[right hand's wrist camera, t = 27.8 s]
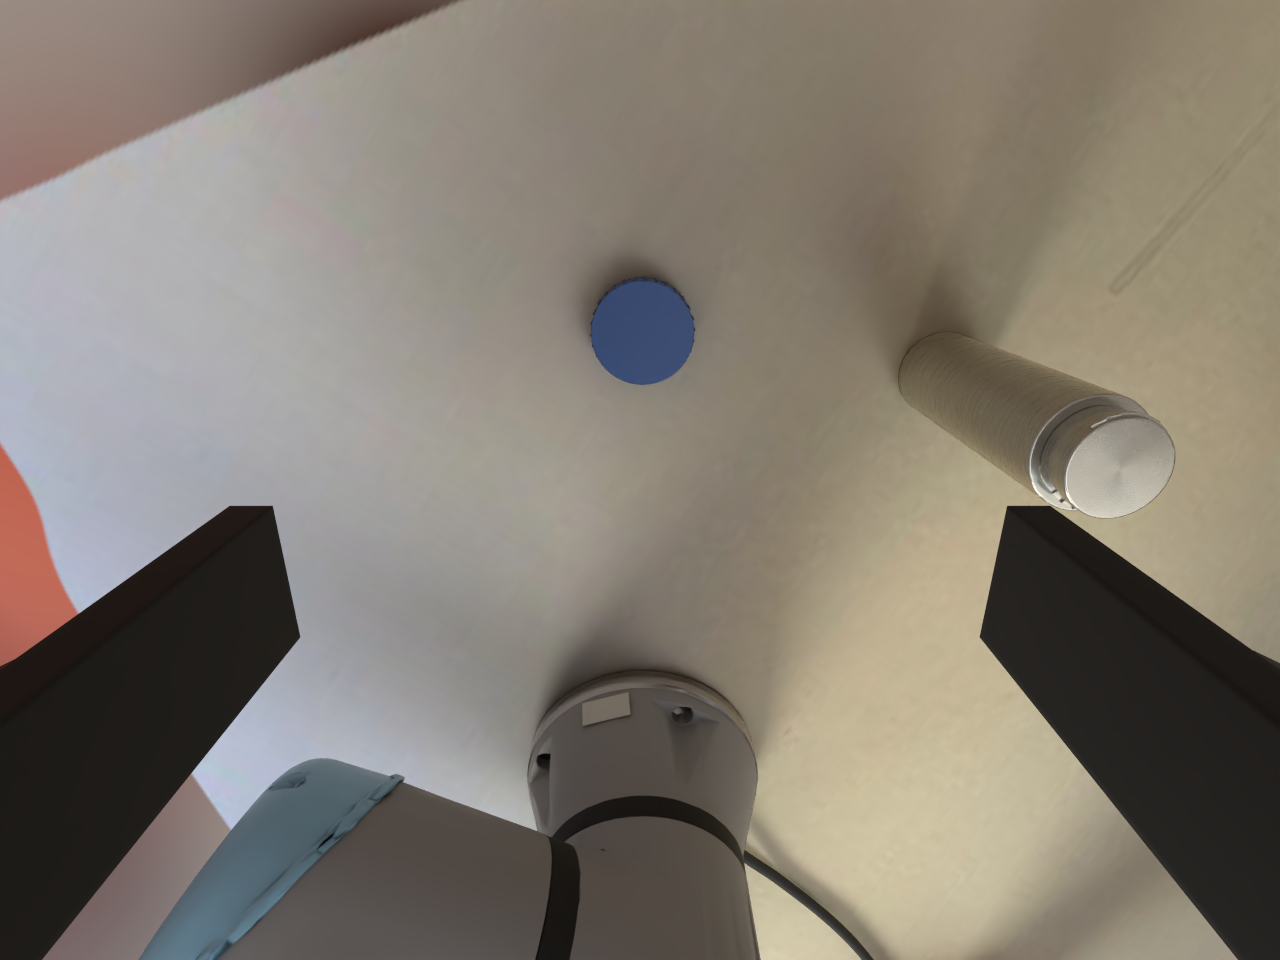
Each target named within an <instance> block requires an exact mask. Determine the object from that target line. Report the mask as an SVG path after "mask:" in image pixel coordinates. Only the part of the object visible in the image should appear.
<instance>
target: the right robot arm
mask: <svg viewBox="0 0 1280 960" xmlns="http://www.w3.org/2000/svg"><path fill="white" fill-rule="evenodd" d="M299 638H300V634H299V629H298V624H297V619H296V615H295V610H294V605H293V600H292V596H291V591H290V586H289V581H288V577H287V572H286V567H285V562H284V558H283V553H282V548H281V543H280V539H279V534H278V529H277V524H276V519H275V515H274V510H273V506H229V507H228V508H226V509H225V510H223V511H222V512H221V513H219V514H218V515H216V516H215V517H214V518H212V519H211V520H209V521H208V522H207V523H205V524H204V525H202V526H201V527H200V528H198V529H197V530H195V531H194V532H193V533H191V534H190V535H188V536H187V537H186V538H184V539H183V540H181V541H180V542H179V543H177V544H176V545H174V546H173V547H172V548H170V549H169V550H167V551H166V552H165V553H163V554H162V555H160V556H159V557H158V558H156V559H155V560H153V561H152V562H151V563H149V564H148V565H146V566H145V567H144V568H142V569H141V570H139V571H138V572H137V573H135V574H134V575H132V576H131V577H130V578H128V579H127V580H126V581H124V582H123V583H121V584H120V585H119V586H117V587H116V588H114V589H113V590H112V591H110V592H109V593H107V594H106V595H105V596H103V597H102V598H100V599H99V600H98V601H96V602H95V603H93V604H92V605H91V606H89V607H88V608H86V609H85V610H84V611H82V612H81V613H79V614H78V615H77V616H75V617H74V618H72V619H71V620H70V621H68V622H67V623H65V624H64V625H63V626H61V627H60V628H58V629H57V630H56V631H54V632H53V633H51V634H50V635H49V636H47V637H46V638H44V639H43V640H42V641H40V642H39V643H37V644H36V645H35V646H33V647H32V648H30V649H29V650H28V651H26V652H25V653H23V654H22V655H21V656H19V657H18V658H16V659H14V660H12V661H10V662H8V663H6V664H4V665H2V666H0V960H42V959H43V958H44V956H45V955H46V954H47V953H48V951H49V950H50V949H51V948H52V946H53V945H54V944H55V943H56V941H57V940H58V939H59V938H60V936H61V935H62V934H63V933H64V931H65V930H66V929H67V928H68V926H69V925H70V924H71V923H72V921H73V920H74V919H75V918H76V916H77V915H78V914H79V913H80V911H81V910H82V909H83V908H84V906H85V905H86V904H87V903H88V901H89V900H90V899H91V898H92V896H93V895H94V894H95V893H96V891H97V890H98V889H99V888H100V886H101V885H102V884H103V883H104V881H105V880H106V879H107V878H108V876H109V875H110V874H111V873H112V871H113V870H114V869H115V868H116V866H117V865H118V864H119V863H120V861H121V860H122V859H123V858H124V856H125V855H126V854H127V853H128V852H129V850H130V849H131V848H132V846H133V845H134V844H135V843H136V842H137V840H138V839H139V838H140V837H141V835H142V834H143V833H144V831H145V830H146V829H147V828H148V826H149V825H150V824H151V823H152V822H153V820H154V819H155V818H156V817H157V815H158V814H159V813H160V812H161V810H162V809H163V808H164V807H165V805H166V804H167V803H168V802H169V800H170V799H171V798H172V797H173V795H174V794H175V793H176V791H177V790H178V789H179V788H180V787H181V785H182V784H183V783H184V782H185V780H186V779H187V778H188V777H189V775H190V774H191V773H192V772H193V770H194V769H195V768H196V767H197V765H198V764H199V763H200V762H201V760H202V759H203V758H204V757H205V755H206V754H207V753H208V752H209V750H210V749H211V748H212V747H213V745H214V744H215V743H216V742H217V740H218V739H219V738H220V737H221V735H222V734H223V733H224V732H225V730H226V729H227V728H228V727H229V725H230V724H231V723H232V722H233V720H234V719H235V718H236V717H237V715H238V714H239V713H240V712H241V710H242V709H243V708H244V707H245V705H246V704H247V703H248V702H249V700H250V699H251V698H252V697H253V695H254V694H255V693H256V692H257V690H258V689H259V688H260V687H261V685H262V684H263V683H264V682H265V680H266V679H267V678H268V677H269V675H270V674H271V673H272V672H273V670H274V669H275V668H276V667H277V665H278V664H279V663H280V662H281V660H282V659H283V658H284V657H285V656H286V654H287V653H288V652H289V651H290V649H291V648H292V647H293V646H294V644H295V643H296V642H297V641H298V639H299ZM980 638H981V639H982V641H983V642H984V643H985V644H986V646H987V647H988V648H989V649H990V651H991V652H992V653H993V654H994V656H995V657H996V658H997V659H998V660H999V662H1000V663H1001V664H1002V665H1003V667H1004V668H1005V669H1006V670H1007V672H1008V673H1009V674H1010V675H1011V677H1012V678H1013V679H1014V680H1015V682H1016V683H1017V684H1018V685H1019V687H1020V688H1021V689H1022V690H1023V692H1024V693H1025V694H1026V695H1027V697H1028V698H1029V699H1030V700H1031V702H1032V703H1033V704H1034V705H1035V707H1036V708H1037V709H1038V710H1039V712H1040V713H1041V714H1042V715H1043V717H1044V718H1045V719H1046V720H1047V722H1048V723H1049V724H1050V725H1051V727H1052V728H1053V729H1054V730H1055V732H1056V733H1057V734H1058V735H1059V737H1060V738H1061V739H1062V740H1063V742H1064V743H1065V744H1066V745H1067V747H1068V748H1069V749H1070V750H1071V752H1072V753H1073V754H1074V755H1075V757H1076V758H1077V759H1078V760H1079V762H1080V763H1081V764H1082V765H1083V767H1084V768H1085V769H1086V770H1087V772H1088V773H1089V774H1090V775H1091V777H1092V778H1093V779H1094V780H1095V782H1096V783H1097V784H1098V785H1099V787H1100V788H1101V789H1102V790H1103V792H1104V793H1105V794H1106V795H1107V797H1108V798H1109V799H1110V800H1111V802H1112V803H1113V804H1114V805H1115V807H1116V808H1117V809H1118V810H1119V812H1120V813H1121V814H1122V815H1123V817H1124V818H1125V819H1126V820H1127V822H1128V823H1129V824H1130V825H1131V827H1132V828H1133V829H1134V830H1135V832H1136V833H1137V834H1138V835H1139V837H1140V838H1141V839H1142V840H1143V842H1144V843H1145V844H1146V845H1147V847H1148V848H1149V849H1150V850H1151V852H1152V853H1153V854H1154V855H1155V857H1156V858H1157V859H1158V860H1159V862H1160V863H1161V864H1162V865H1163V867H1164V868H1165V869H1166V870H1167V871H1168V873H1169V874H1170V875H1171V876H1172V878H1173V879H1174V880H1175V881H1176V883H1177V884H1178V885H1179V886H1180V888H1181V889H1182V890H1183V891H1184V893H1185V894H1186V895H1187V896H1188V898H1189V899H1190V900H1191V901H1192V903H1193V904H1194V905H1195V906H1196V908H1197V909H1198V910H1199V911H1200V913H1201V914H1202V915H1203V916H1204V918H1205V919H1206V920H1207V921H1208V923H1209V924H1210V925H1211V926H1212V928H1213V929H1214V930H1215V931H1216V933H1217V934H1218V935H1219V936H1220V938H1221V939H1222V940H1223V941H1224V943H1225V944H1226V945H1227V946H1228V948H1229V949H1230V950H1231V951H1232V953H1233V954H1234V955H1235V956H1236V958H1237V959H1238V960H1280V663H1278V662H1276V661H1274V660H1272V659H1270V658H1268V657H1266V656H1264V655H1261V654H1259V653H1257V652H1255V651H1252V650H1251V649H1250V648H1248V647H1247V646H1245V645H1244V644H1243V643H1241V642H1240V641H1238V640H1237V639H1236V638H1234V637H1233V636H1231V635H1230V634H1229V633H1227V632H1226V631H1224V630H1223V629H1222V628H1220V627H1219V626H1217V625H1216V624H1215V623H1213V622H1212V621H1210V620H1209V619H1208V618H1206V617H1205V616H1203V615H1202V614H1201V613H1199V612H1198V611H1196V610H1195V609H1194V608H1192V607H1191V606H1189V605H1188V604H1187V603H1185V602H1184V601H1182V600H1181V599H1180V598H1178V597H1177V596H1175V595H1174V594H1173V593H1171V592H1170V591H1168V590H1167V589H1166V588H1164V587H1163V586H1161V585H1160V584H1159V583H1157V582H1156V581H1154V580H1153V579H1152V578H1150V577H1149V576H1148V575H1146V574H1145V573H1143V572H1142V571H1141V570H1139V569H1138V568H1136V567H1135V566H1134V565H1132V564H1131V563H1129V562H1128V561H1127V560H1125V559H1124V558H1122V557H1121V556H1120V555H1118V554H1117V553H1115V552H1114V551H1113V550H1111V549H1110V548H1108V547H1107V546H1106V545H1104V544H1103V543H1101V542H1100V541H1099V540H1097V539H1096V538H1094V537H1093V536H1092V535H1090V534H1089V533H1087V532H1086V531H1085V530H1083V529H1082V528H1080V527H1079V526H1078V525H1076V524H1075V523H1073V522H1072V521H1071V520H1069V519H1068V518H1066V517H1065V516H1064V515H1062V514H1061V513H1059V512H1058V511H1057V510H1055V509H1054V508H1052V507H1051V506H1007V510H1006V515H1005V519H1004V524H1003V529H1002V534H1001V539H1000V543H999V548H998V553H997V558H996V562H995V567H994V572H993V577H992V581H991V586H990V591H989V596H988V600H987V605H986V610H985V615H984V619H983V624H982V629H981V634H980ZM757 773H758V772H757V764H756V759H755V754H754V749H753V745H752V741H751V737H750V734H749V732H748V729H747V727H746V725H745V723H744V721H743V720H742V718H741V717H740V715H739V714H738V712H737V711H736V710H735V709H734V708H733V707H732V705H731V704H729V703H728V702H727V701H726V700H725V699H724V698H723V697H721V696H720V695H719V694H718V693H716V692H715V691H713V690H711V689H710V688H708V687H707V686H705V685H703V684H700V683H698V682H696V681H694V680H691V679H689V678H686V677H682V676H679V675H675V674H670V673H665V672H657V671H628V672H620V673H615V674H610V675H606V676H603V677H600V678H597V679H594V680H592V681H589V682H587V683H585V684H583V685H581V686H579V687H577V688H575V689H574V690H572V691H571V692H569V693H568V694H566V695H565V696H564V697H562V698H561V699H560V700H559V701H558V702H557V703H556V704H555V705H554V706H553V707H552V708H551V709H550V710H549V711H548V713H547V714H546V715H545V717H544V718H543V720H542V721H541V723H540V725H539V727H538V729H537V732H536V734H535V737H534V741H533V745H532V750H531V755H530V760H529V765H528V787H529V794H530V799H531V804H532V808H533V813H534V818H535V822H536V827H537V831H535V830H532V829H529V828H527V827H524V826H521V825H518V824H516V823H513V822H510V821H507V820H504V819H502V818H499V817H496V816H493V815H491V814H488V813H485V812H482V811H479V810H477V809H474V808H471V807H468V806H466V805H463V804H460V803H457V802H454V801H452V800H449V799H446V798H443V797H441V796H438V795H435V794H432V793H430V792H427V791H425V790H422V789H419V788H417V787H414V786H412V785H409V784H406V783H404V782H403V781H404V778H405V777H403V776H401V775H398V774H394V775H392V776H387V775H383V774H380V773H377V772H374V771H370V770H367V769H364V768H360V767H357V766H354V765H351V764H347V763H344V762H341V761H337V760H333V759H323V758H320V759H312V760H308V761H305V762H303V763H300V764H298V765H296V766H294V767H293V768H291V769H290V770H288V771H287V772H285V773H284V774H283V775H282V776H280V777H279V778H278V779H277V780H276V781H275V782H274V783H272V784H271V785H270V786H269V787H268V789H267V790H266V791H265V792H264V793H263V794H262V795H261V796H260V797H259V798H258V799H257V800H256V802H255V803H254V804H253V805H252V806H251V807H250V809H249V810H248V811H247V812H246V813H245V814H244V816H243V817H242V818H241V819H240V820H239V822H238V823H237V824H236V825H235V827H234V828H233V829H232V830H231V831H230V833H229V834H228V835H227V837H226V838H225V839H224V840H223V842H222V843H221V844H220V846H219V847H218V848H217V849H216V851H215V852H214V853H213V855H212V856H211V857H210V859H209V860H208V861H207V862H206V864H205V865H204V866H203V868H202V869H201V870H200V872H199V873H198V875H197V876H196V877H195V878H194V880H193V881H192V883H191V884H190V885H189V887H188V888H187V890H186V891H185V892H184V894H183V895H182V896H181V898H180V899H179V901H178V902H177V903H176V905H175V906H174V908H173V909H172V911H171V912H170V913H169V915H168V916H167V918H166V919H165V921H164V922H163V923H162V925H161V926H160V928H159V929H158V931H157V932H156V934H155V935H154V937H153V938H152V940H151V941H150V943H149V944H148V946H147V947H146V949H145V950H144V952H143V953H142V955H141V957H140V958H139V960H760V954H759V948H758V942H757V937H756V931H755V925H754V919H753V913H752V908H751V902H750V895H749V889H748V883H747V878H746V872H745V866H744V863H745V864H747V865H748V866H750V867H751V868H753V869H754V870H756V871H757V872H759V873H761V874H762V875H764V876H765V877H767V878H768V879H770V880H771V881H773V882H774V883H775V884H777V885H778V886H779V887H781V888H782V889H784V890H785V891H786V892H788V893H789V894H790V895H792V896H793V897H794V898H795V899H797V900H798V901H799V902H801V903H802V904H803V905H805V906H806V907H807V908H808V909H810V910H811V911H812V912H813V913H815V914H816V915H817V916H818V917H819V918H821V919H822V920H823V921H824V922H825V923H826V924H828V925H829V926H830V927H831V928H832V929H833V930H834V931H835V932H836V933H837V934H838V935H839V936H840V937H841V938H842V939H843V940H844V941H845V942H846V943H847V944H848V945H849V946H850V947H851V948H852V949H853V950H854V951H855V952H856V953H857V955H858V956H859V957H860V958H861V959H862V960H873V958H872V957H871V956H870V955H869V953H868V952H867V951H866V950H865V948H864V947H863V946H862V945H861V944H860V943H859V941H858V940H857V939H856V938H855V937H854V936H853V935H852V934H851V933H850V932H849V931H848V930H847V929H846V928H845V927H844V926H843V925H842V924H841V923H840V922H839V921H838V920H837V919H836V918H835V917H833V916H832V915H831V914H830V913H829V912H828V911H827V910H826V909H824V908H823V907H822V906H821V905H820V904H818V903H817V902H816V901H815V900H813V899H812V898H811V897H810V896H808V895H807V894H806V893H805V892H803V891H802V890H801V889H799V888H798V887H797V886H795V885H794V884H793V883H791V882H790V881H789V880H788V879H786V878H785V877H784V876H782V875H781V874H780V873H778V872H777V871H775V870H774V869H772V868H771V867H769V866H768V865H766V864H765V863H763V862H762V861H760V860H759V859H757V858H756V857H754V856H753V855H751V854H750V853H748V852H747V851H745V850H744V849H745V844H746V839H747V834H748V829H749V825H750V820H751V815H752V810H753V805H754V800H755V795H756V788H757Z"/></svg>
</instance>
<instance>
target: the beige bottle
mask: <svg viewBox="0 0 1280 960" xmlns="http://www.w3.org/2000/svg"><path fill="white" fill-rule="evenodd" d="M899 387H900V391H901V393H902V395H903V397H904V399H905V400H906V401H907V402H908V404H910V405H911V406H912V407H913V408H915V409H916V410H917V411H919V412H920V413H922V414H923V415H924V416H926V417H927V418H929V419H930V420H931V421H933V422H934V423H936V424H937V425H938V426H940V427H941V428H943V429H944V430H945V431H947V432H948V433H950V434H951V435H953V436H954V437H955V438H957V439H958V440H960V441H961V442H962V443H964V444H965V445H967V446H968V447H969V448H971V449H972V450H974V451H975V452H976V453H978V454H979V455H981V456H982V457H983V458H985V459H986V460H988V461H989V462H990V463H992V464H993V465H995V466H996V467H997V468H999V469H1000V470H1002V471H1003V472H1004V473H1006V474H1007V475H1009V476H1010V477H1011V478H1013V479H1014V480H1016V481H1017V482H1018V483H1020V484H1021V485H1023V486H1024V487H1026V488H1027V489H1028V490H1030V491H1031V492H1033V493H1034V494H1035V495H1037V496H1038V497H1040V498H1041V499H1042V500H1044V501H1045V502H1047V503H1048V504H1050V505H1052V506H1054V507H1056V508H1060V509H1063V510H1070V511H1080V512H1082V513H1084V514H1086V515H1088V516H1092V517H1096V518H1117V517H1122V516H1125V515H1128V514H1131V513H1133V512H1135V511H1137V510H1139V509H1141V508H1143V507H1144V506H1146V505H1147V504H1149V503H1150V502H1151V501H1152V500H1153V499H1155V498H1156V497H1157V496H1158V494H1159V493H1160V492H1161V491H1162V490H1163V488H1164V487H1165V486H1166V484H1167V482H1168V481H1169V479H1170V477H1171V474H1172V472H1173V469H1174V464H1175V447H1174V444H1173V441H1172V439H1171V437H1170V435H1169V434H1168V432H1167V430H1166V429H1165V428H1164V427H1163V426H1162V425H1161V424H1160V421H1158V420H1156V419H1154V418H1153V417H1151V416H1149V415H1148V413H1147V412H1146V411H1145V409H1144V408H1143V407H1142V406H1141V405H1140V404H1138V403H1137V402H1135V401H1134V400H1132V399H1130V398H1128V397H1125V396H1123V395H1120V394H1117V393H1115V392H1112V391H1109V390H1107V389H1104V388H1101V387H1099V386H1096V385H1094V384H1091V383H1088V382H1086V381H1083V380H1080V379H1078V378H1075V377H1072V376H1070V375H1067V374H1064V373H1062V372H1059V371H1057V370H1054V369H1051V368H1049V367H1046V366H1043V365H1041V364H1038V363H1035V362H1033V361H1030V360H1027V359H1025V358H1022V357H1020V356H1017V355H1014V354H1012V353H1009V352H1006V351H1004V350H1001V349H998V348H996V347H993V346H990V345H988V344H985V343H983V342H980V341H977V340H975V339H972V338H969V337H967V336H964V335H961V334H958V333H954V332H940V333H935V334H932V335H930V336H927V337H925V338H923V339H922V340H920V341H919V342H918V343H916V344H915V345H914V346H913V347H912V348H911V349H910V350H909V352H908V353H907V354H906V356H905V358H904V360H903V362H902V364H901V367H900V371H899Z"/></svg>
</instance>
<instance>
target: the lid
mask: <svg viewBox="0 0 1280 960" xmlns="http://www.w3.org/2000/svg"><path fill="white" fill-rule="evenodd" d="M684 300H685V299H684V297H683V296H680V295H679V294H678V293H677V290H676V288H674V289H673V288H672V287H670V286H669V285H668V284H667V282H665V283H663V282H661V281H658V280H657V278H655V279H651V278H647V277H646V276H644V278H636V277H634V278H633V279H630V280H627V281H625V280H623V282H622V283H620V284H618V285H614V286H613V288H612V289H611V290H610V291H609V292H607V291H606V292H605V295H604V297H603V299H602V300H599V302H598V308H597V310H595V311H594V313H593V315H594V318H593V320H592V322H591V326H592V327H591V334H590V336H591V338H592V347H593V348H594V351H595V354H596V357H597V358H598V360H599V361H600V362H601V364H602V366H604V368H605V369H606V370H607V371H608V372H610V373H611V374H612V375H613V376H615V377H617V378H618V379H620V380H622V381H625V382H628V383H632V384H640V385H645V384H653V383H657V382H660V381H663V380H665V379H667V378H669V377H670V376H672V375H673V374H674V373H676V372H677V371H678V370H679V369H680V368H681V367H682V366H683V364H684V363H685V362H686V360H687V358H688V356H689V354H690V353H691V349H692V345H693V342H694V331H695V328H694V325H693V320H694V318H693V316H692V315H691V314H690V311H689V310H690V308H689V306H688V305H686V303H685V302H684Z"/></svg>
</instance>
